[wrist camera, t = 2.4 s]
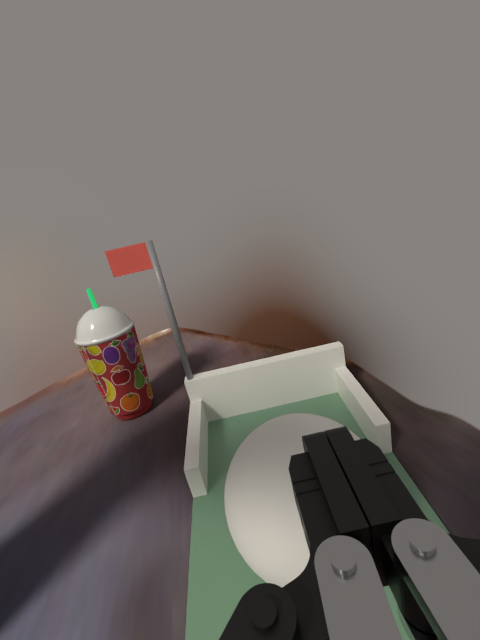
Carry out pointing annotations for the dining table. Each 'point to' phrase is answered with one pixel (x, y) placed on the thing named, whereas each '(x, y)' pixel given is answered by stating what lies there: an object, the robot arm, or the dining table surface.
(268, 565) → the ball
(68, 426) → the dining table surface
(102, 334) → the smoothie
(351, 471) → the robot arm
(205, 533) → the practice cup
